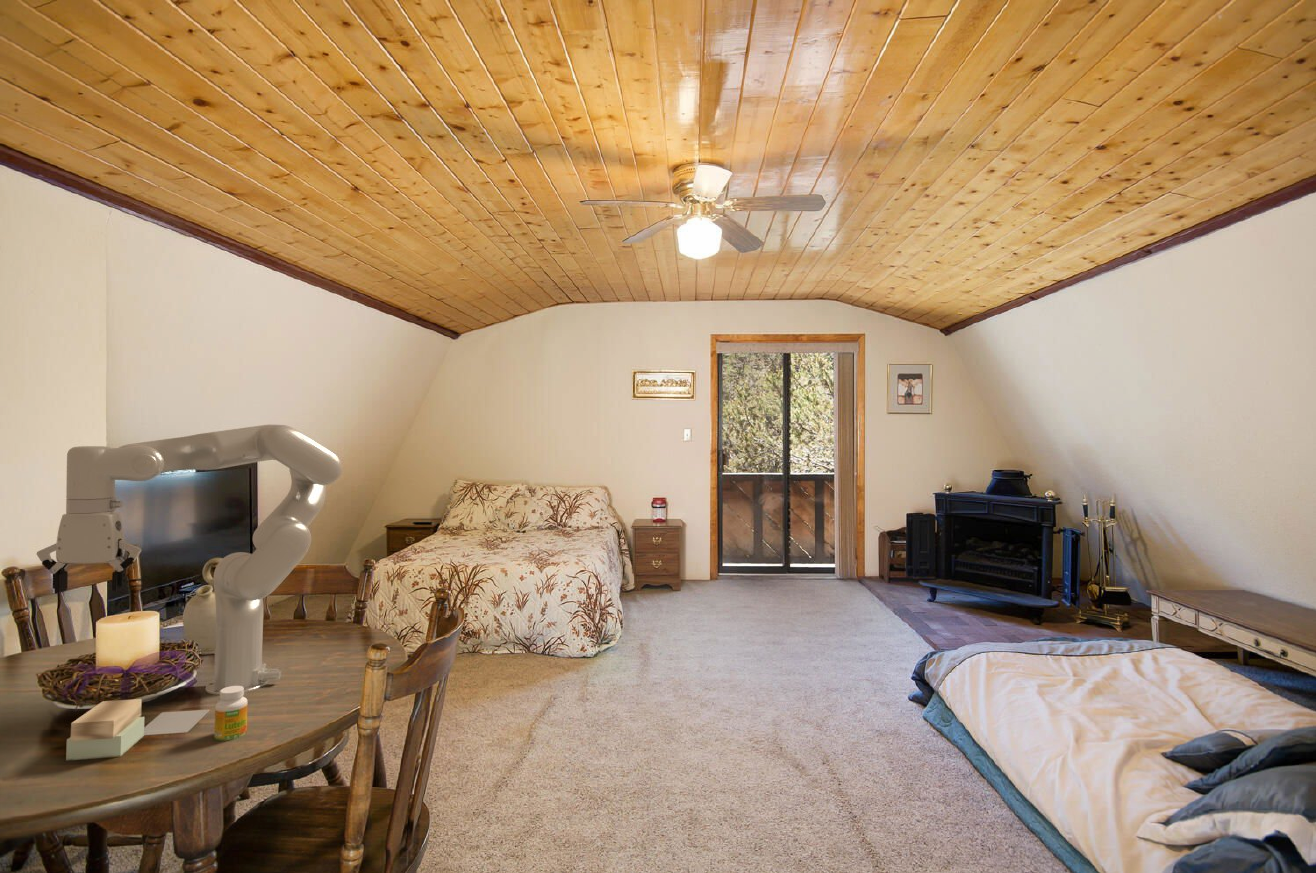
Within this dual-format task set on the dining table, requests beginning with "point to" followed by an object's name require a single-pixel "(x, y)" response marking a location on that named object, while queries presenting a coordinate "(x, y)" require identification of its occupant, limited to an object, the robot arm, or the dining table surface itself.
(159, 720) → the mat
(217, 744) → the dining table surface
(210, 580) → the jug
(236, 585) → the robot arm
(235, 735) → the supplement bottle
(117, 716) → the wooden block
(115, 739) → the sage green tray
